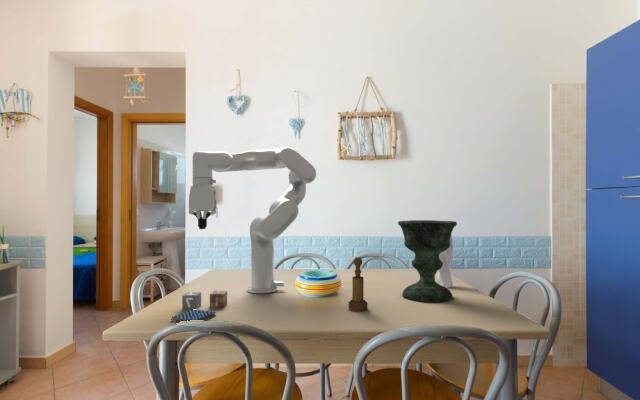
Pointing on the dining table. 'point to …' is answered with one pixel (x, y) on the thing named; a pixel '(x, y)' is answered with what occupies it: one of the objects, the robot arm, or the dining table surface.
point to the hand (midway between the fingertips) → (202, 228)
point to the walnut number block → (218, 299)
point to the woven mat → (193, 315)
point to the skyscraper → (445, 267)
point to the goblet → (427, 257)
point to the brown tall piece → (357, 290)
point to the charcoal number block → (191, 300)
